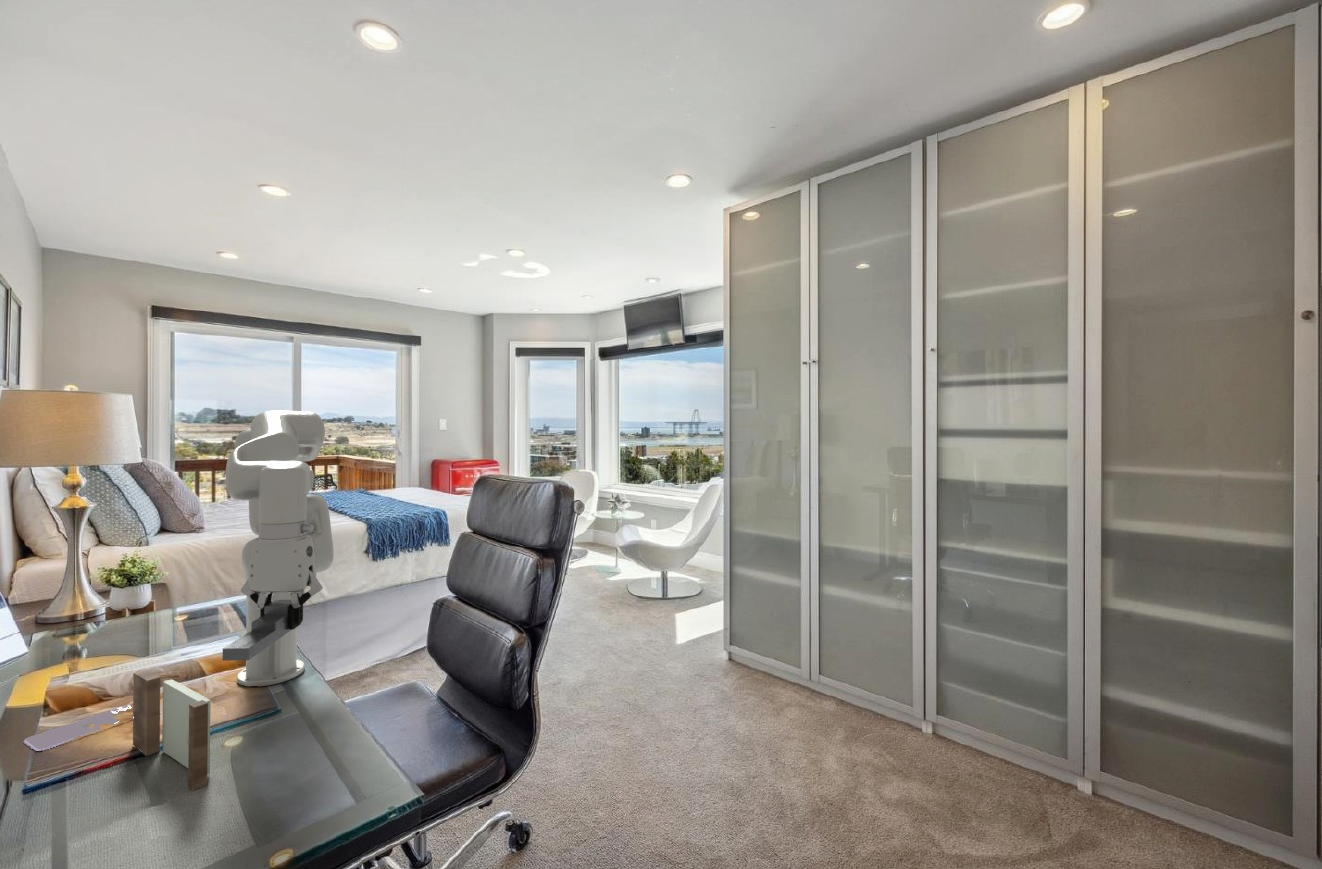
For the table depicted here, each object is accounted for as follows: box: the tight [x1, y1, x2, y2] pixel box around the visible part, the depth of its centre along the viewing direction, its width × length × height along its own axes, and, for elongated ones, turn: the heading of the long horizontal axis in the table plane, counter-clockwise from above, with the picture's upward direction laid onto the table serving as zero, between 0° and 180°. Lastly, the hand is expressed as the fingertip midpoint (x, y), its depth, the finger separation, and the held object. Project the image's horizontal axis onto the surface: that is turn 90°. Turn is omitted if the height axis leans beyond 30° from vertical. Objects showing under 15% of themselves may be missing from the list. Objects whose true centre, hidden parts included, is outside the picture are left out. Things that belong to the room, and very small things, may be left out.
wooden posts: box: [132, 668, 208, 791], centre depth 96 cm, size 23×2×13 cm, turn 60°
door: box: [161, 679, 211, 776], centre depth 96 cm, size 15×2×12 cm, turn 60°
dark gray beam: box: [222, 600, 292, 661], centre depth 103 cm, size 16×4×5 cm, turn 7°
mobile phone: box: [23, 704, 132, 752], centre depth 107 cm, size 8×1×15 cm
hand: (281, 626), depth 109 cm, fingers closed on dark gray beam, 4 cm apart
